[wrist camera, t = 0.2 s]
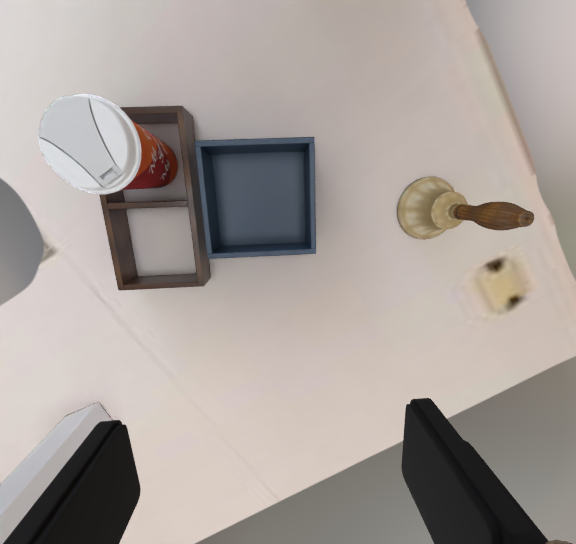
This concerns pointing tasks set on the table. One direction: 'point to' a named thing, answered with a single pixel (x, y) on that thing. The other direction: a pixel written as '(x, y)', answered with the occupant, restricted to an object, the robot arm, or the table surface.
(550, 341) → the table surface
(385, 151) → the table surface
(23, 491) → the milk
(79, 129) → the paper cup
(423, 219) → the hand bell
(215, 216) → the blue square tray
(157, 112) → the wooden divided tray
